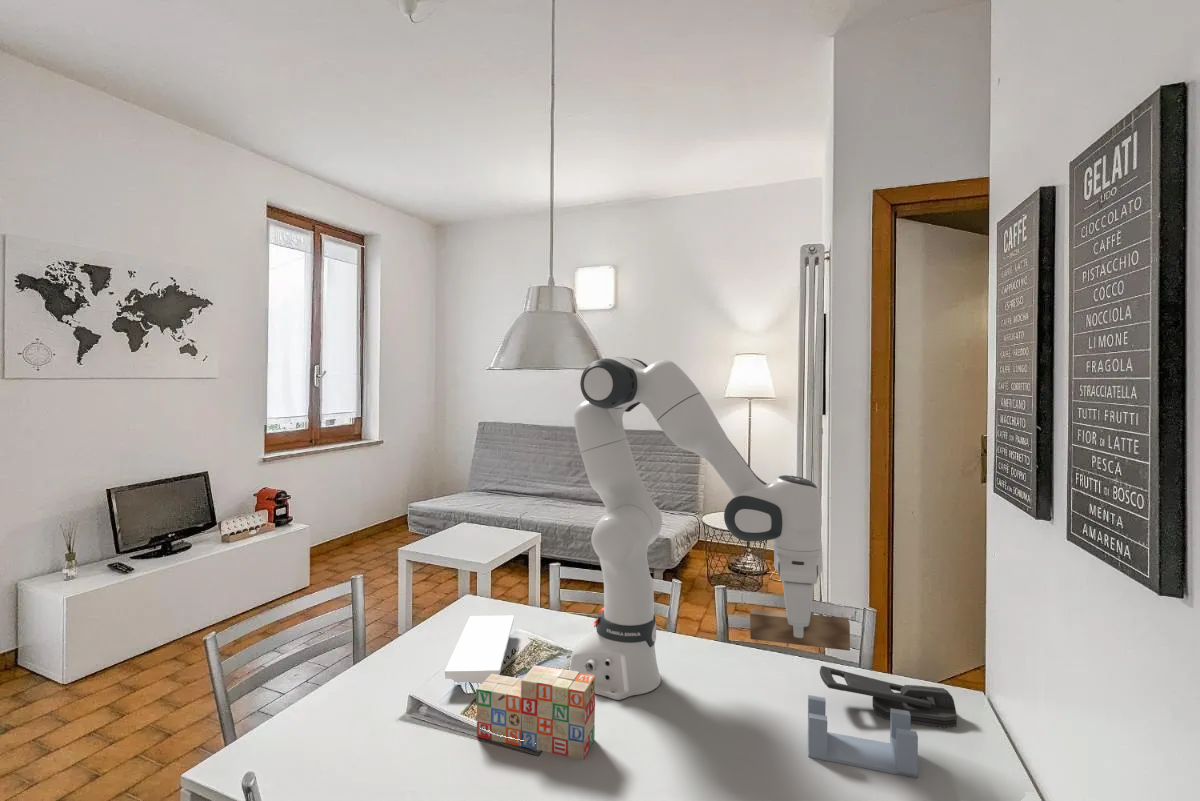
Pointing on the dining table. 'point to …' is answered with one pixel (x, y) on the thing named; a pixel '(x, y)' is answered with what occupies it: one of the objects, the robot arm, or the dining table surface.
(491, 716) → the stack of blocks
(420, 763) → the dining table surface
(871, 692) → the zipper pull
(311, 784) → the dining table surface
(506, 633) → the shelf
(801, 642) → the rail
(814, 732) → the grey cradle stand
